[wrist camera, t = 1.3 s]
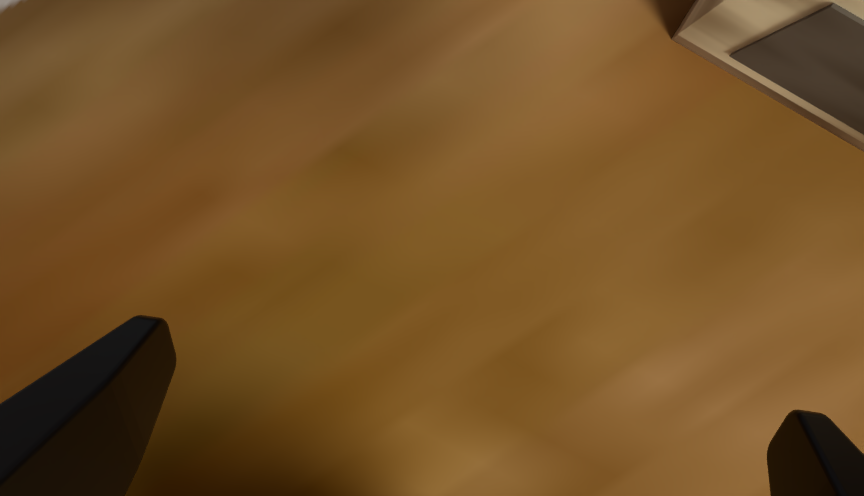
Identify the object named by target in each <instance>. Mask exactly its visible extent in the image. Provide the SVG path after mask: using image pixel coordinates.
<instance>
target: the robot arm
mask: <svg viewBox="0 0 864 496" xmlns="http://www.w3.org/2000/svg"><path fill="white" fill-rule="evenodd" d="M175 366H176V353H175V349H174V346H173V342H172V338H171V334H170V331H169V327H168V324H167V322H166V321H165V320H164V319H162V318H158V317H151V316H144V315H138V316H135V317H133V318H131V319H129V320H128V321H126V322H125V323H123V324H122V325H120V326H119V327H117V328H116V329H114V330H112V331H111V332H109V333H108V334H106V335H105V336H103V337H102V338H100V339H99V340H97V341H96V342H94V343H93V344H91V345H90V346H88V347H86V348H85V349H83V350H82V351H80V352H79V353H77V354H76V355H74V356H73V357H71V358H70V359H68V360H67V361H65V362H64V363H62V364H61V365H59V366H57V367H56V368H54V369H53V370H51V371H50V372H48V373H47V374H45V375H44V376H42V377H41V378H39V379H38V380H36V381H35V382H33V383H31V384H30V385H28V386H27V387H25V388H24V389H22V390H21V391H19V392H18V393H16V394H15V395H13V396H12V397H10V398H9V399H7V400H5V401H4V402H2V403H1V404H0V496H124V495H125V493H126V491H127V489H128V487H129V485H130V483H131V481H132V479H133V477H134V475H135V473H136V471H137V469H138V467H139V464H140V462H141V460H142V457H143V455H144V452H145V450H146V447H147V444H148V442H149V439H150V436H151V433H152V431H153V428H154V425H155V423H156V420H157V417H158V414H159V412H160V409H161V406H162V403H163V401H164V398H165V395H166V393H167V390H168V387H169V384H170V382H171V379H172V376H173V373H174V370H175ZM767 465H768V474H769V483H770V493H771V496H864V454H863V453H862V452H861V451H860V450H859V449H858V448H857V447H856V446H855V445H854V444H853V443H852V442H851V441H850V439H849V438H848V437H847V436H846V435H845V434H844V433H843V432H842V431H841V430H840V429H839V428H838V427H837V426H836V425H835V424H834V423H833V421H832V420H831V419H829V418H828V417H827V416H826V415H824V414H822V413H817V412H810V411H804V410H793V411H791V412H790V413H789V414H788V415H787V416H786V418H785V419H784V421H783V423H782V424H781V426H780V427H779V429H778V430H777V432H776V434H775V435H774V437H773V438H772V440H771V442H770V444H769V447H768V451H767Z"/></svg>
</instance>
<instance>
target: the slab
mask: <svg viewBox="0 0 864 496" xmlns="http://www.w3.org/2000/svg"><path fill="white" fill-rule="evenodd" d="M672 40H674V41H675V42H677V43H679V44H680V45H682V46H684V47H685V48H687V49H689V50H691V51H692V52H694V53H696V54H697V55H699V56H701V57H703V58H704V59H706V60H708V61H709V62H711V63H713V64H715V65H716V66H718V67H720V68H721V69H723V70H725V71H727V72H728V73H730V74H732V75H733V76H735V77H737V78H739V79H740V80H742V81H744V82H745V83H747V84H749V85H751V86H752V87H754V88H756V89H757V90H759V91H761V92H763V93H764V94H766V95H768V96H769V97H771V98H773V99H774V100H776V101H778V102H780V103H781V104H783V105H785V106H786V107H788V108H790V109H792V110H793V111H795V112H797V113H798V114H800V115H802V116H804V117H805V118H807V119H809V120H810V121H812V122H814V123H816V124H817V125H819V126H821V127H822V128H824V129H826V130H828V131H829V132H831V133H833V134H834V135H836V136H838V137H840V138H841V139H843V140H845V141H846V142H848V143H850V144H852V145H853V146H855V147H857V148H858V149H860V150H862V151H864V0H695V2H694V3H693V5H692V6H691V8H690V10H689V11H688V13H687V15H686V16H685V18H684V19H683V21H682V23H681V24H680V26H679V28H678V29H677V31H676V32H675V34H674V36H673V37H672Z"/></svg>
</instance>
